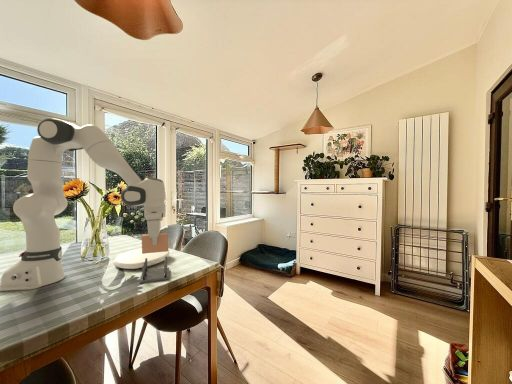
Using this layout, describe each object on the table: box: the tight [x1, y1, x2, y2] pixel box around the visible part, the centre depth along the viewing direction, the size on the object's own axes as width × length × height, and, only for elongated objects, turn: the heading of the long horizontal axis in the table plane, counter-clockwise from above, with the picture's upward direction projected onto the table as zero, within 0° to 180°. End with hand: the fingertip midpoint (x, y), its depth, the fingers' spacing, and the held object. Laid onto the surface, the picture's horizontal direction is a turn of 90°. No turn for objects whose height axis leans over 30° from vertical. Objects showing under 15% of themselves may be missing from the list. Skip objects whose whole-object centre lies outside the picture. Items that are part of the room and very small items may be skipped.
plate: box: [113, 247, 170, 270], centre depth 127 cm, size 28×6×27 cm
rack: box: [139, 256, 170, 284], centre depth 108 cm, size 12×13×7 cm
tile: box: [141, 232, 169, 254], centre depth 105 cm, size 11×3×8 cm, turn 110°
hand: (155, 243), depth 105 cm, fingers closed on tile, 3 cm apart
